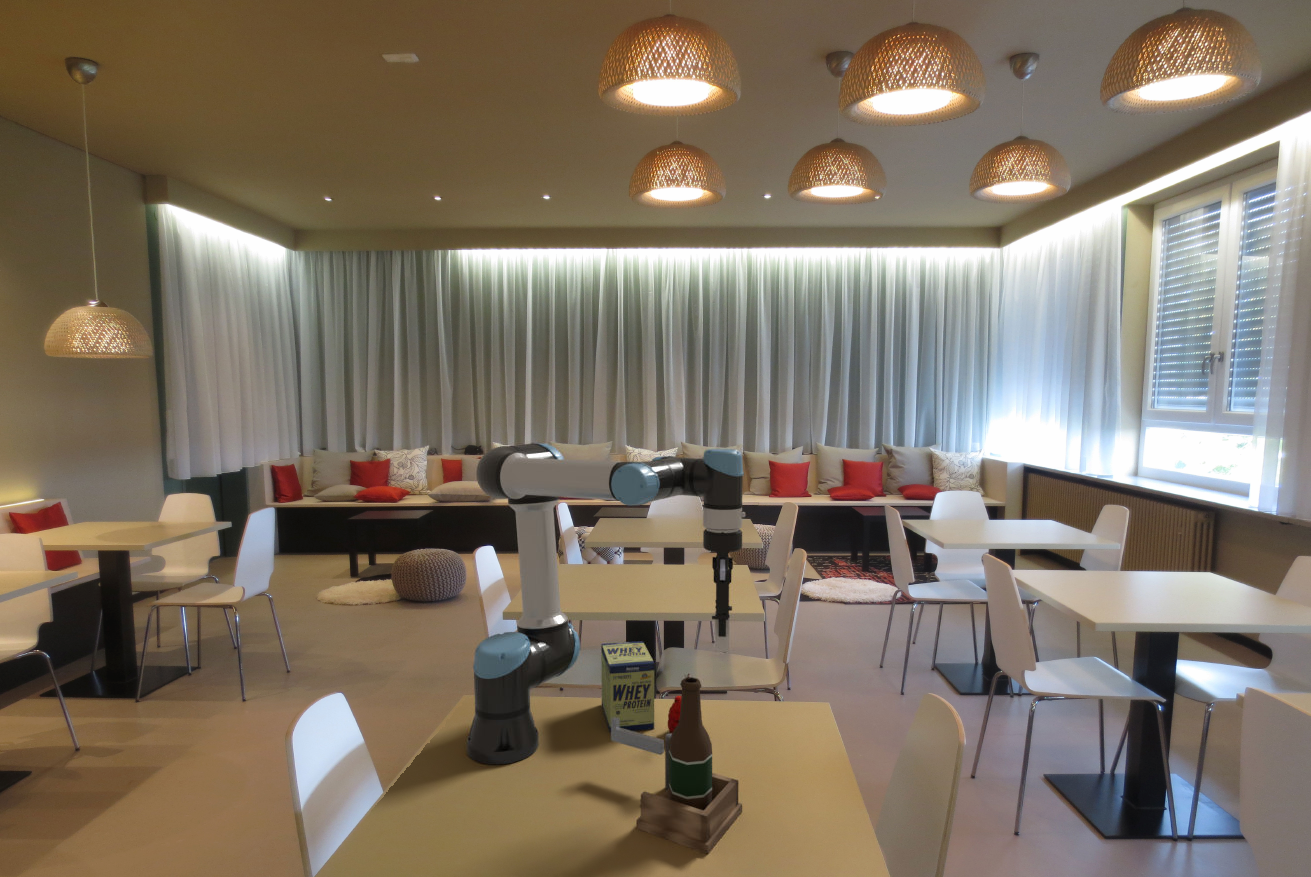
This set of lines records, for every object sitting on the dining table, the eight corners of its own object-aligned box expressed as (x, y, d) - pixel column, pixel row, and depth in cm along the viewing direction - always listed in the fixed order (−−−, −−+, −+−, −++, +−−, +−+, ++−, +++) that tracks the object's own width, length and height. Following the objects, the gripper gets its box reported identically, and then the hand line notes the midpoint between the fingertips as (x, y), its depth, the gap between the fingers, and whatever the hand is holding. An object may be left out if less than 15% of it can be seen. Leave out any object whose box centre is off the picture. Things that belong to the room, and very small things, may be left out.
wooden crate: (626, 824, 127) (626, 767, 126) (668, 785, 140) (668, 732, 139) (708, 854, 119) (708, 792, 118) (744, 809, 131) (744, 753, 131)
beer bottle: (709, 826, 124) (710, 690, 122) (664, 821, 125) (665, 687, 124) (714, 801, 131) (715, 673, 130) (672, 796, 133) (673, 670, 131)
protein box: (609, 734, 161) (609, 666, 160) (600, 704, 176) (600, 642, 175) (655, 729, 163) (655, 662, 162) (642, 701, 178) (642, 639, 177)
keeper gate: (611, 740, 144) (611, 718, 144) (614, 738, 145) (614, 716, 145) (660, 755, 138) (660, 732, 138) (663, 752, 139) (663, 729, 139)
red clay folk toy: (698, 726, 164) (698, 662, 163) (704, 741, 157) (705, 674, 156) (665, 728, 163) (665, 664, 162) (670, 743, 156) (670, 676, 155)
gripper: (743, 537, 130) (742, 664, 131) (741, 521, 146) (740, 634, 148) (702, 536, 131) (701, 662, 132) (704, 521, 147) (703, 633, 148)
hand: (721, 647), depth 140 cm, fingers open, 3 cm apart
